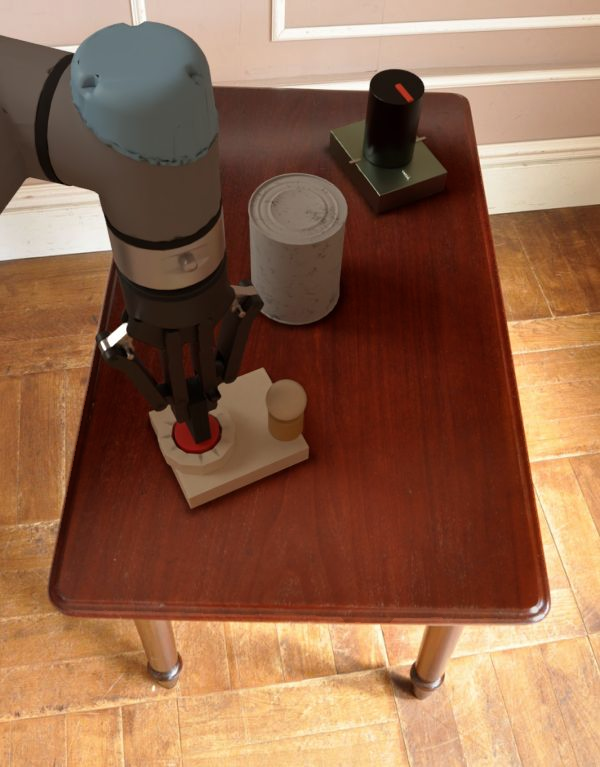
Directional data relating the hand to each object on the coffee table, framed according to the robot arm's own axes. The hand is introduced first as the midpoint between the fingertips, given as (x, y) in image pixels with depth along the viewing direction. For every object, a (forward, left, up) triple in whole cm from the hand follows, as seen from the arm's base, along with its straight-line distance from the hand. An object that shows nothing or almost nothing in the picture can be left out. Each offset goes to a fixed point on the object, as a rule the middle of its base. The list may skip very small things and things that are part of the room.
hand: (197, 429), depth 77 cm
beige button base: (0, +3, -5) cm, 5 cm away
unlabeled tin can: (-14, +17, -5) cm, 23 cm away
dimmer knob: (-26, +35, -1) cm, 44 cm away
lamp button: (0, 0, -2) cm, 2 cm away
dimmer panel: (-26, +35, -5) cm, 44 cm away
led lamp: (+3, +7, -1) cm, 8 cm away
